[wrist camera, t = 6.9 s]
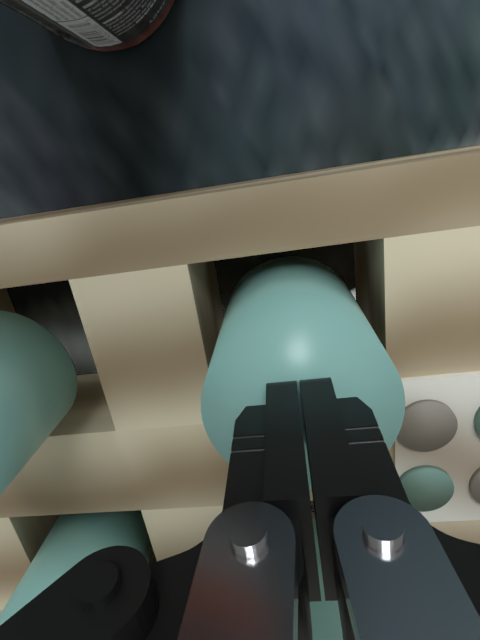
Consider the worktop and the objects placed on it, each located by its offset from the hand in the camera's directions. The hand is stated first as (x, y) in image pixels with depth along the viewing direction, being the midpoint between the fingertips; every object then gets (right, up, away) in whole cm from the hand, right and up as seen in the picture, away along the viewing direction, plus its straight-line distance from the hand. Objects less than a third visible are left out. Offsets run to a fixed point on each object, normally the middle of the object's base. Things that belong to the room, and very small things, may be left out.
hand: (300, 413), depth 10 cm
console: (-3, -2, +11) cm, 11 cm away
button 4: (0, +2, +6) cm, 6 cm away
